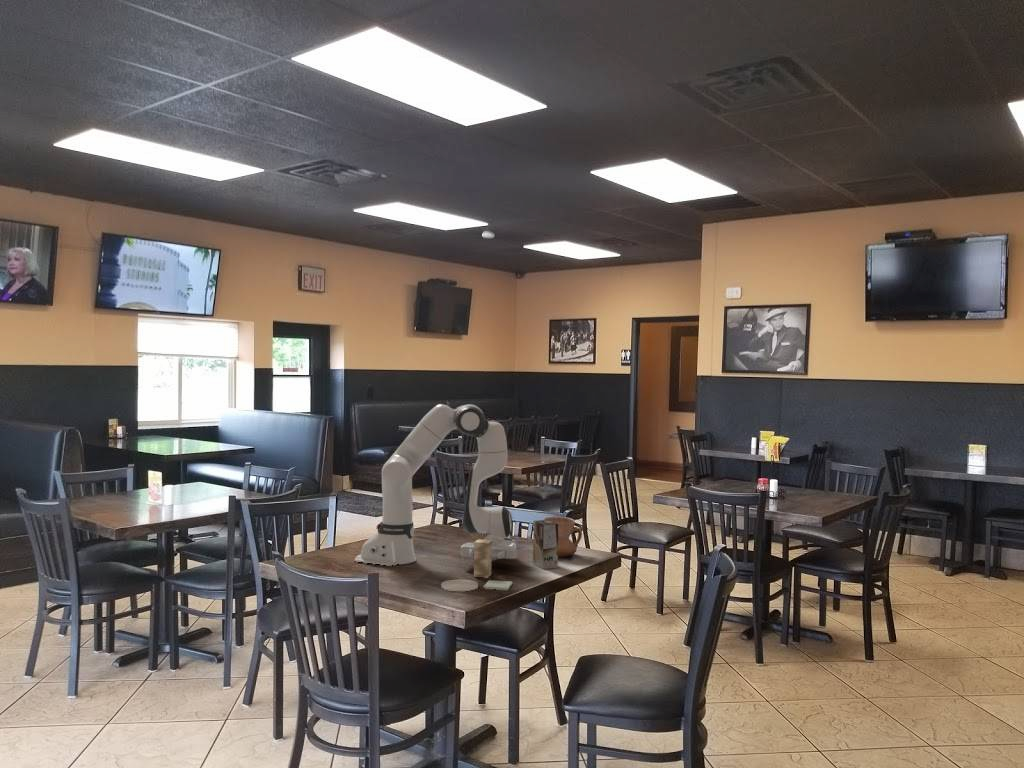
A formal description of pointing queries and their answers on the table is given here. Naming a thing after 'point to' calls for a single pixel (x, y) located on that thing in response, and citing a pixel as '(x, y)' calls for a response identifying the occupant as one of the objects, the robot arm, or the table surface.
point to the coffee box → (545, 544)
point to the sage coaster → (497, 585)
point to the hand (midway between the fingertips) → (484, 555)
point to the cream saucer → (459, 585)
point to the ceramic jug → (566, 535)
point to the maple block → (482, 558)
